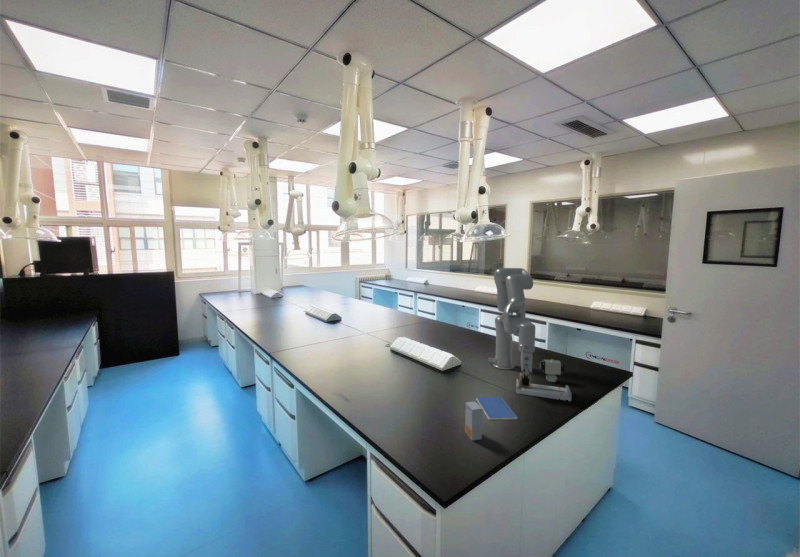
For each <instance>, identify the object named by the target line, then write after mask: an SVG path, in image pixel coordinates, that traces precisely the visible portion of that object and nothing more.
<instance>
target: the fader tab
mask: <svg viewBox="0 0 800 557" xmlns="http://www.w3.org/2000/svg"><path fill="white" fill-rule="evenodd" d="M524 374H525V373H524ZM531 374H532V373H529V386H523V385H522V377H523V373H522V372H519V382H520V387H526V388H531V384H532V375H531Z"/></svg>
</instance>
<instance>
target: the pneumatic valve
mask: <svg viewBox="0 0 800 557" xmlns="http://www.w3.org/2000/svg"><path fill="white" fill-rule="evenodd" d="M539 370H540V371H542V372H543V374H546V375H545V379H546V380H547V382H549V383H556V382H557V381H558V376H557V375H559V376H562V375H563V373H565V371H566V365H565V364H564V363H562V361H561V360H555V359H552V358H551V359H543V358H542V360H541V361H539Z"/></svg>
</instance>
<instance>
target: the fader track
mask: <svg viewBox="0 0 800 557" xmlns="http://www.w3.org/2000/svg"><path fill="white" fill-rule="evenodd" d="M515 381H516V382H515V385H516V387H515V390H516V394H518V395H519V394H520V395H526V396H531V397H537V398H538V397H539V398H545V399H546V398H547V399H552V400H559V399H560V400H561V401H566V400H568V402H572V396H573V394H572V392H571V389H570V386H569V385H567V384H565V387H560V386H552V385H546V384H537V383H531V388H526V387H520V378H519V379H518V378H516V380H515Z"/></svg>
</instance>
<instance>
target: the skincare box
mask: <svg viewBox="0 0 800 557" xmlns="http://www.w3.org/2000/svg"><path fill="white" fill-rule="evenodd" d="M464 415H465V418H464V419H465V420H464V421H465V422H464V431H465V434H466V435H467V436H468V437H469V439H470V440H471V441H478V440H482V438H483V409H482V408H481V406H480V405H479V403H478V402H476V401H468V402H465V414H464Z"/></svg>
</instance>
